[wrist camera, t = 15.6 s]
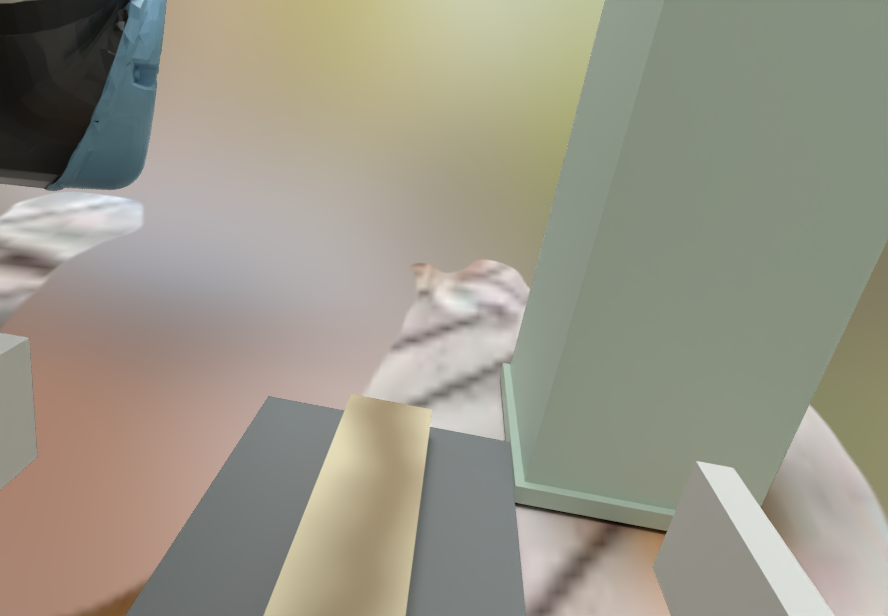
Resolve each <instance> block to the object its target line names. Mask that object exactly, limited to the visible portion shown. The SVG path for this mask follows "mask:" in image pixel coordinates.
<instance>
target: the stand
mask: <svg viewBox="0 0 888 616" xmlns="http://www.w3.org/2000/svg"><path fill="white" fill-rule="evenodd" d="M887 239H888V0H605V2H604V6H603V10H602V14H601V18H600V22H599V26H598V29H597V33H596V37H595V41H594V45H593V49H592V53H591V56H590V60H589V64H588V68H587V72H586V76H585V80H584V84H583V87H582V92H581V95H580V99H579V103H578V107H577V111H576V115H575V118H574V123H573V126H572V130H571V134H570V138H569V142H568V146H567V150H566V153H565V157H564V161H563V165H562V169H561V173H560V177H559V180H558V184H557V188H556V192H555V196H554V200H553V204H552V208H551V212H550V215H549V220H548V223H547V227H546V231H545V235H544V239H543V242H542V246H541V250H540V254H539V258H538V262H537V266H536V270H535V273H534V277H533V281H532V285H531V289H530V293H529V297H528V301H527V304H526V308H525V312H524V316H523V320H522V324H521V328H520V332H519V335H518V339H517V343H516V347H515V351H514V355H513V359H512V363H511V364H506V363H503V365H502V369H501V373H500V381H501V392H502V403H503V415H504V426H505V438H506V442H509V447H510V458H511V468H512V479H513V489H514V500H515V503H520V504H525V505H531V506H536V507H541V508H547V509H552V510H557V511H563V512H568V513H573V514H579V515H584V516H589V517H595V518H600V519H605V520H610V521H616V522H621V523H626V524H632V525H637V526H642V527H648V528H653V529H658V530H664V531H668V528H669V526H670V523H671V521H672V518H673V516H674V514H675V511H676V509H677V506H678V504H679V501H680V499H681V496H682V494H683V492H684V489H685V487H686V484H687V482H688V479H689V477H690V474H691V472H692V470H693V467H694V465H695V462H696V461H699V462H704V463H710V464H715V465H721V466H726V467H731V468H734V469H735V471H736V472H737V474H738V475H739V477H740V478H741V480H742V481H743V483H744V484H745V485H746V487H747V488H748V490H749V491H750V493H751V494H752V496H753V497H754V499H755V500H756V502H757V503H758V504H759V506H760V507H761V505H762V503H763V501H764V499H765V497H766V495H767V493H768V490H769V488H770V486H771V484H772V482H773V480H774V478H775V476H776V474H777V471H778V469H779V467H780V465H781V463H782V461H783V459H784V457H785V455H786V452H787V450H788V448H789V446H790V444H791V442H792V440H793V438H794V436H795V433H796V431H797V429H798V427H799V425H800V423H801V421H802V419H803V417H804V414H805V412H806V410H807V408H808V406H809V404H810V402H811V400H812V398H813V395H814V393H815V391H816V389H817V387H818V385H819V383H820V381H821V379H822V377H823V374H824V372H825V370H826V368H827V366H828V364H829V362H830V360H831V358H832V355H833V353H834V351H835V349H836V347H837V345H838V343H839V340H840V338H841V336H842V334H843V332H844V330H845V328H846V326H847V324H848V322H849V320H850V317H851V315H852V313H853V311H854V309H855V307H856V305H857V303H858V301H859V298H860V296H861V294H862V292H863V290H864V288H865V286H866V284H867V282H868V279H869V277H870V275H871V273H872V270H873V269H874V267H875V265H876V262H877V260H878V258H879V256H880V254H881V252H882V250H883V248H884V246H885V243H886V241H887Z"/></svg>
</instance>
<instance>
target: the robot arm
mask: <svg viewBox="0 0 888 616" xmlns="http://www.w3.org/2000/svg"><path fill="white" fill-rule="evenodd" d="M166 2H167V0H0V184H10V185H19V186H27V187H36V188H44V189H46V190H49V191H57V190H61V189H63V188H78V189H101V190H115V189H120V188H124V187H126V186H128V185H130V184H131V183H133V182H134V181H135V180H136V179H137V178H138V177H139V175H140V174H141V172H142V170H143V168H144V165H145V160H146V156H147V151H148V146H149V140H150V134H151V127H152V120H153V113H154V106H155V97H156V88H157V80H156V79H157V74H158V72H159V62H160V55H161V51H162V41H163V33H164V24H165V14H166ZM36 458H37V443H36V427H35V413H34V398H33V383H32V370H31V354H30V339H29V338H28V337H22V336H17V335H12V334H6V333H1V332H0V490H1V489H2V488H3V487H4V486H5V485H6V484H8V483H9V482H10V481H11V480H12V479H13V478H14V477H16V476H17V475H18V474H19V473H20V472H21V471H22V470H24V469H25V468H26V467H27V466H28V465H29V464H30V463H32V462H33V461H34V460H35V459H36ZM653 569H654V572H655V575H656V577H657V580H658V582H659V585H660V588H661V590H662V593H663V596H664V598H665V601H666V603H667V606H668V609H669V611H670V614H671V616H835V615H834V614H833V612H832V611H831V609H830V608H829V606H828V605H827V603H826V602H825V601H824V599H823V598H822V596H821V595H820V593H819V592H818V590H817V589H816V587H815V586H814V585H813V583H812V582H811V580H810V579H809V577H808V576H807V574H806V573H805V571H804V570H803V568H802V567H801V566H800V564H799V563H798V561H797V560H796V558H795V557H794V555H793V554H792V552H791V551H790V550H789V548H788V547H787V545H786V544H785V542H784V541H783V539H782V538H781V536H780V535H779V534H778V532H777V531H776V529H775V528H774V526H773V525H772V523H771V522H770V520H769V519H768V518H767V516H766V515H765V513H764V512H763V510H762V509H761V507H760V506H759V504H758V503H757V502H756V500H755V499H754V497H753V496H752V494H751V493H750V491H749V490H748V488H747V487H746V485H745V484H744V483H743V481H742V480H741V478H740V477H739V475H738V474H737V472H736V471H735V469H734V468H731V467H726V466H721V465H715V464H710V463H704V462H699V461H696V462H695V465H694V467H693V470H692V472H691V474H690V477H689V479H688V482H687V484H686V487H685V489H684V492H683V494H682V496H681V499H680V501H679V504H678V506H677V509H676V511H675V514H674V516H673V518H672V521H671V523H670V526H669V528H668V531H667V533H666V536H665V538H664V540H663V543H662V545H661V548H660V550H659V553H658V555H657V558H656V560H655V562H654V565H653Z"/></svg>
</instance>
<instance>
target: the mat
mask: <svg viewBox="0 0 888 616" xmlns="http://www.w3.org/2000/svg"><path fill="white" fill-rule="evenodd" d="M343 413H344V411H343V410H338V409H333V408H328V407H323V406H318V405H312V404H307V403H301V402H297V401H291V400H286V399H281V398H275V397H270V396H268V398H267V400H266V401H265V403H264V404H263V406H262V407H261V409H260V410H259V412H258V414H257V415H256V417H255V418H254V419H253V421H252V422H251V424H250V426H249V427H248V429H247V430H246V432H245V433H244V435H243V436H242V438H241V439H240V441H239V442H238V444H237V445H236V447H235V448H234V450H233V452H232V453H231V455H230V456H229V458H228V459H227V461H226V462H225V464H224V465H223V467H222V468H221V470H220V472H219V473H218V475H217V476H216V478H215V479H214V481H213V482H212V484H211V485H210V487H209V489H208V490H207V492H206V493H205V494H204V496H203V498H202V499H201V501H200V502H199V504H198V505H197V507H196V508H195V510H194V511H193V513H192V514H191V516H190V517H189V519H188V520H187V522H186V524H185V525H184V527H183V528H182V530H181V531H180V533H179V534H178V536H177V537H176V539H175V540H174V542H173V543H172V545H171V547H170V548H169V550H168V551H167V553H166V554H165V556H164V558H163V559H162V560H161V562H160V563H159V565H158V567H157V568H156V570H155V571H154V573H153V574H152V576H151V577H150V579H149V580H148V582H147V583H146V585H145V586H144V588H143V589H142V591H141V593H140V594H139V596H138V597H137V599H136V600H135V602H134V603H133V605H132V606H131V608H130V609H129V611H128V612H127V614H126V616H263V615H264V613H265V610H266V608H267V605H268V603H269V600H270V598H271V595H272V593H273V590H274V588H275V585H276V583H277V580H278V577H279V575H280V572H281V570H282V567H283V565H284V562H285V560H286V557H287V555H288V552H289V550H290V547H291V545H292V542H293V540H294V537H295V534H296V532H297V529H298V527H299V524H300V522H301V519H302V517H303V514H304V512H305V509H306V507H307V504H308V502H309V499H310V497H311V494H312V491H313V489H314V486H315V484H316V481H317V479H318V476H319V474H320V471H321V469H322V466H323V464H324V461H325V459H326V456H327V454H328V451H329V448H330V446H331V443H332V441H333V438H334V436H335V433H336V431H337V428H338V426H339V423H340V421H341V418H342V416H343ZM406 616H526V614H525V604H524V593H523V583H522V572H521V562H520V552H519V541H518V531H517V520H516V510H515V500H514V489H513V479H512V468H511V458H510V447H509V442H506V441H501V440H496V439H491V438H485V437H480V436H475V435H470V434H464V433H459V432H454V431H449V430H443V429H438V428H433V427H430V431H429V438H428V446H427V454H426V462H425V469H424V477H423V485H422V492H421V500H420V508H419V516H418V523H417V531H416V539H415V547H414V554H413V562H412V570H411V577H410V585H409V593H408V601H407V608H406Z"/></svg>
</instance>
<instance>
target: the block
mask: <svg viewBox="0 0 888 616" xmlns="http://www.w3.org/2000/svg"><path fill="white" fill-rule="evenodd" d="M431 415H432V409H426V408H421V407H416V406H411V405H406V404H400V403H395V402H390V401H385V400H379V399H374V398H369V397H364V396H359V395H353V394H351V395H350V398H349V400H348V403H347V406H346V408H345V411H344V413H343V416H342V418H341V421H340V423H339V426H338V428H337V431H336V433H335V436H334V438H333V441H332V443H331V446H330V448H329V451H328V454H327V456H326V459H325V461H324V464H323V466H322V469H321V471H320V474H319V476H318V479H317V481H316V484H315V486H314V489H313V491H312V494H311V497H310V499H309V502H308V504H307V507H306V509H305V512H304V514H303V517H302V519H301V522H300V524H299V527H298V529H297V532H296V534H295V537H294V540H293V542H292V545H291V547H290V550H289V552H288V555H287V557H286V560H285V562H284V565H283V567H282V570H281V572H280V575H279V577H278V580H277V583H276V585H275V588H274V590H273V593H272V595H271V598H270V600H269V603H268V605H267V608H266V610H265V613H264V615H263V616H406V608H407V601H408V593H409V585H410V577H411V570H412V562H413V554H414V547H415V539H416V531H417V523H418V516H419V508H420V500H421V492H422V485H423V477H424V469H425V462H426V454H427V446H428V438H429V431H430V423H431Z"/></svg>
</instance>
